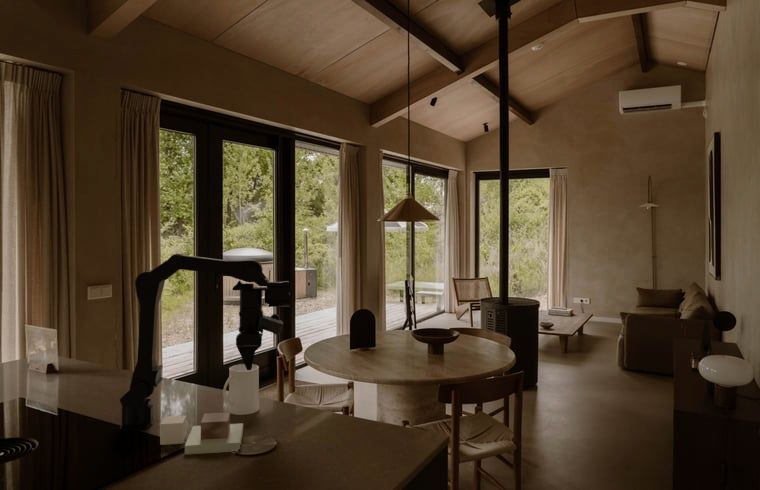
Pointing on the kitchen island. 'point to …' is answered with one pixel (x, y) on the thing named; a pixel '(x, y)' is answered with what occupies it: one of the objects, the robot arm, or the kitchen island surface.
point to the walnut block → (215, 425)
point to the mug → (242, 390)
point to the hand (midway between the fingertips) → (250, 365)
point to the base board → (214, 441)
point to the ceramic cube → (173, 430)
